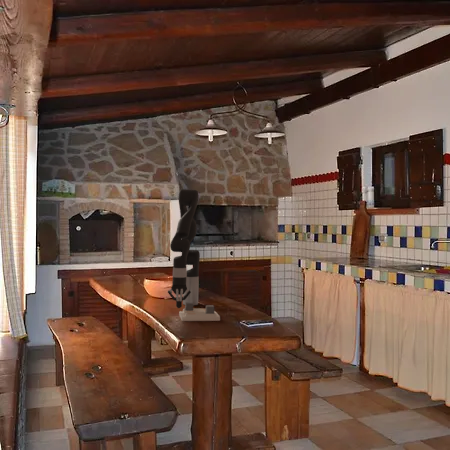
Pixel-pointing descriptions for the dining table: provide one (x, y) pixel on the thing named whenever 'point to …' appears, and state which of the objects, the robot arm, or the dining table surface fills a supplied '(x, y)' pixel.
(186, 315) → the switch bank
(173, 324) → the dining table surface
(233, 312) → the dining table surface
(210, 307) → the tab
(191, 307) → the tab
